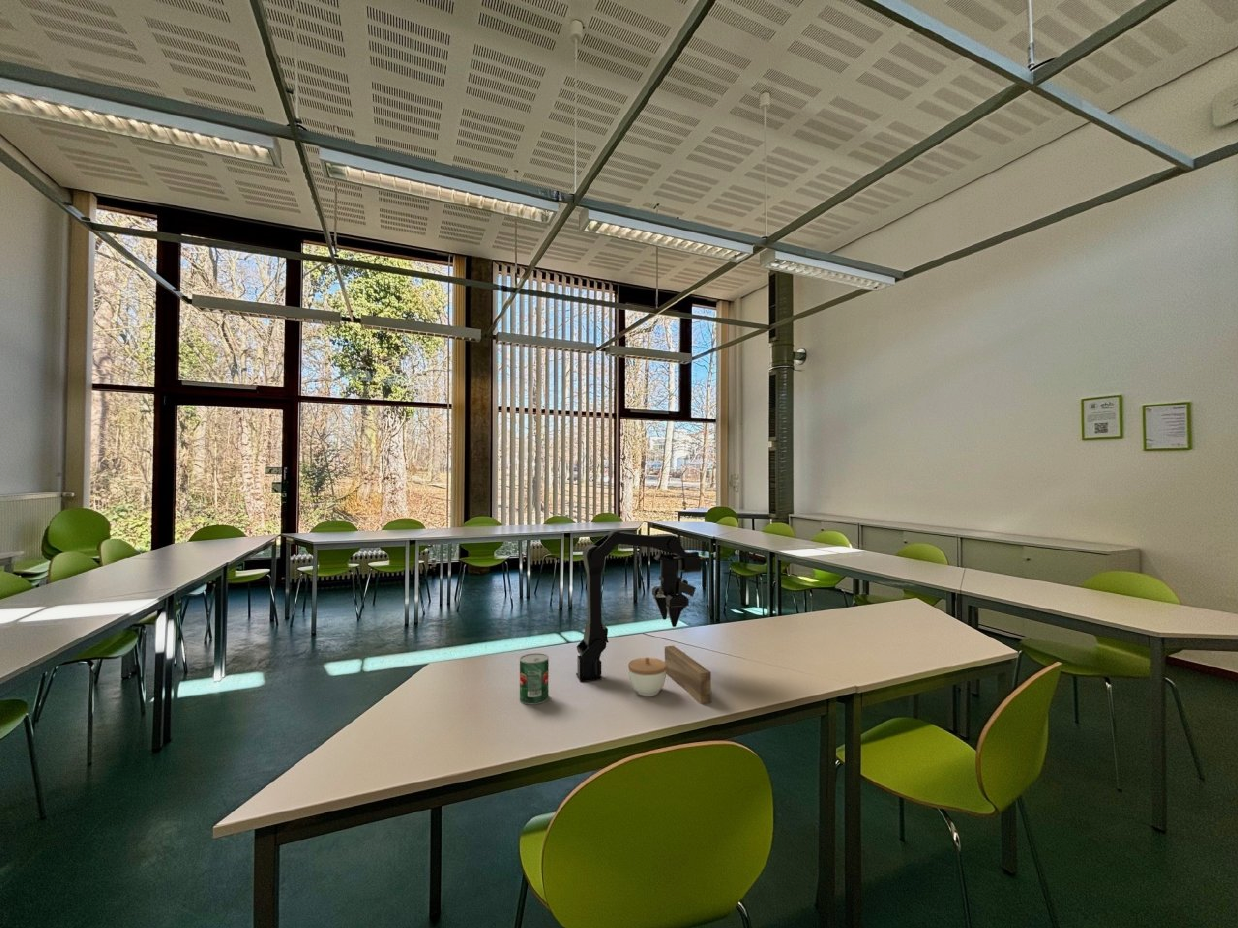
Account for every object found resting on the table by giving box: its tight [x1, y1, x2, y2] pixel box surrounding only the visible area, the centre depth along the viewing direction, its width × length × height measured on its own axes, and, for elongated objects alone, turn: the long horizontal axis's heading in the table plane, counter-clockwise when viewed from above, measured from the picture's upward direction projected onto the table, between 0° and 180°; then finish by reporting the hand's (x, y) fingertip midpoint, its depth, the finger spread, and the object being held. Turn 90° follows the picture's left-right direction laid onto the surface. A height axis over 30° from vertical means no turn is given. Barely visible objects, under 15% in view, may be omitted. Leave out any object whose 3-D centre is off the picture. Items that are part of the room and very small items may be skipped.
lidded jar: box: [627, 657, 667, 697], centre depth 142 cm, size 11×11×9 cm
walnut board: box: [664, 645, 712, 705], centre depth 145 cm, size 3×24×8 cm, turn 18°
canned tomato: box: [519, 652, 550, 705], centre depth 138 cm, size 8×8×11 cm
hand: (669, 622), depth 160 cm, fingers open, 9 cm apart
